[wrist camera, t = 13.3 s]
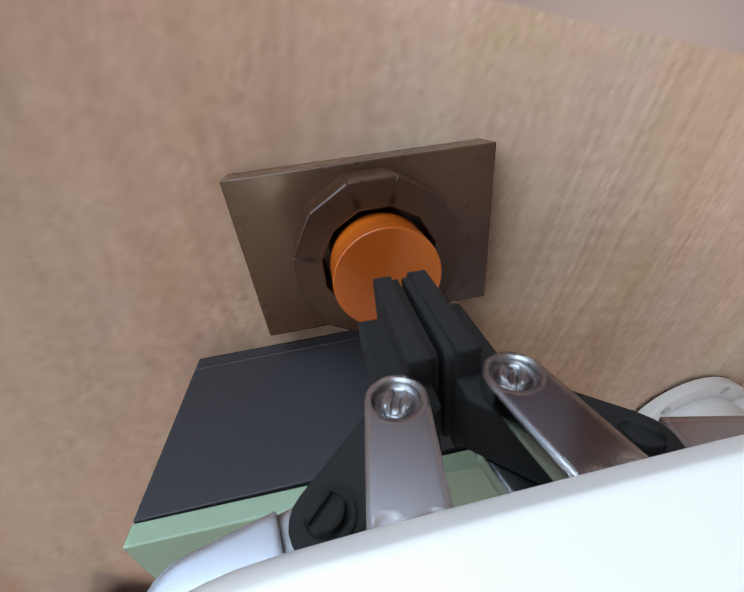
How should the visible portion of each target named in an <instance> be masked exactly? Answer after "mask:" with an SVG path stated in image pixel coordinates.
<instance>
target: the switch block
mask: <svg viewBox="0 0 744 592" xmlns="http://www.w3.org/2000/svg"><path fill="white" fill-rule="evenodd" d="M495 150H496V142H493V141H488V140H483V139H475V140H468V141H461V142H454V143H447V144H440V145H433V146H425V147H418V148H411V149H404V150H397V151H390V152H383V153H376V154H369V155H362V156H355V157H347V158H340V159H333V160H326V161H319V162H312V163H305V164H298V165H291V166H284V167H276V168H269V169H262V170H255V171H248V172H241V173H234V174H228V175H226V176H225V177H224V178H223V179H222V180H221V181H220V185H221V188H222V191H223V194H224V197H225V200H226V203H227V206H228V209H229V212H230V215H231V218H232V221H233V224H234V227H235V230H236V233H237V236H238V239H239V242H240V245H241V248H242V251H243V254H244V257H245V260H246V263H247V266H248V269H249V272H250V275H251V278H252V281H253V284H254V287H255V290H256V293H257V296H258V299H259V302H260V305H261V308H262V311H263V314H264V317H265V320H266V323H267V326H268V329H269V332H270V335H277V334H282V333H287V332H293V331H298V330H303V329H309V328H314V327H319V326H324V325H333V326H337V327H341V328H345V329H348V330H352V331H356V332H359V329H358V322H359V321H357V320H355V319H353V318H352V317H350V316H349V315H348V314H347V313H346V312H345V311H344V310H343V309H342V308H341V306H340V305H339V303H338V301H337V299H336V297H335V293H334V289H333V283H332V276H331V270H330V255H331V251H332V248H333V245H334V243H335V241H336V239H337V237H338V236H339V234H340V233H341V232H342V231H343V230H344V229H345V228H346V227H347V226H348V225H349V224H351V223H352V222H353V221H355V220H357V219H359V218H361V217H363V216H366V215H369V214H374V213H392V214H396V215H399V216H402V217H404V218H406V219H408V220H409V221H411V222H412V223H413V224H414V225H415V226H416V227H417V228H418V229H419V230H420V231H421V232H422V233H423V234H424V236H425V237H426V238H427V239H428V240H429V241H430V242H431V243H432V245H433V246H434V247H435V249H436V251H437V253H438V255H439V258H440V262H441V280H440V285H439V287H438V288H439V290H440V291H441V293H442V294H443V295H444V297H445V298H446V299H447V301H448V302H452V301H457V300H463V299H468V298H473V297H479V296H483V295H484V287H485V275H486V262H487V250H488V237H489V225H490V212H491V200H492V187H493V175H494V162H495Z"/></svg>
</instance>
